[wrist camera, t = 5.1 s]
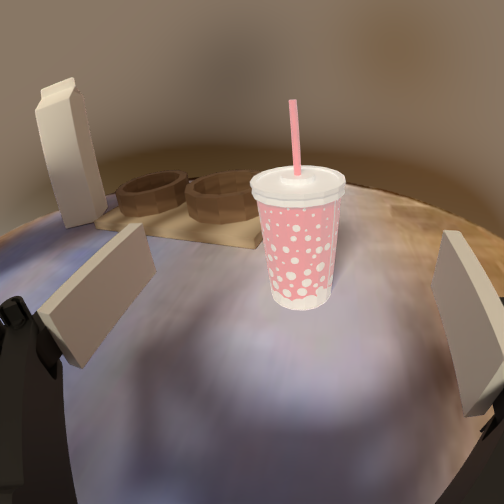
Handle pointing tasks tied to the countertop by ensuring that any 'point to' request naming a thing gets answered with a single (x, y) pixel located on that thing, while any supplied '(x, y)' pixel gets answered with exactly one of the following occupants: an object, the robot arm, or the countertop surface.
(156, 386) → the countertop surface
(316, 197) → the beverage cup
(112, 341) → the countertop surface
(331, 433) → the countertop surface
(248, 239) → the socket board
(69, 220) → the milk
